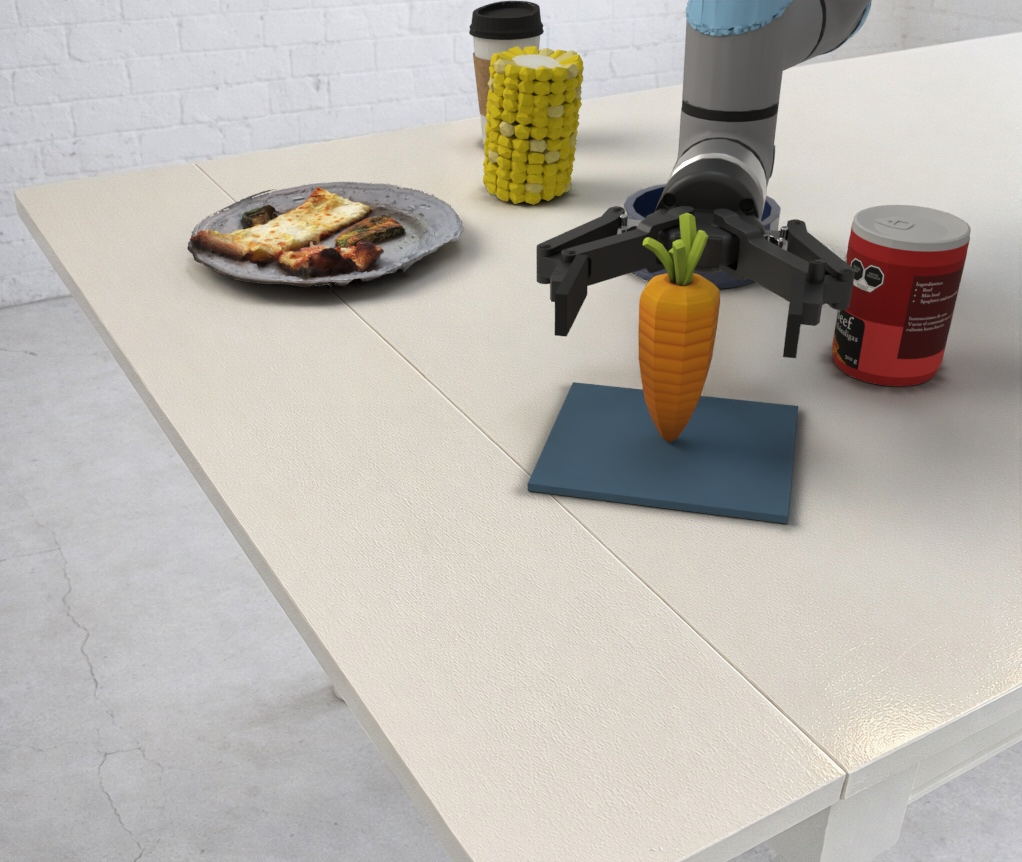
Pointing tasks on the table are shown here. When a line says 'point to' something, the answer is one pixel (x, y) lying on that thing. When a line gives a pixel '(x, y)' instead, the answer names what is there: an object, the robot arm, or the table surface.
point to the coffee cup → (501, 39)
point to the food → (531, 123)
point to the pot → (645, 205)
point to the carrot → (676, 331)
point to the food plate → (324, 233)
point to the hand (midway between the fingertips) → (673, 326)
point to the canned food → (900, 293)
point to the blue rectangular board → (671, 454)
